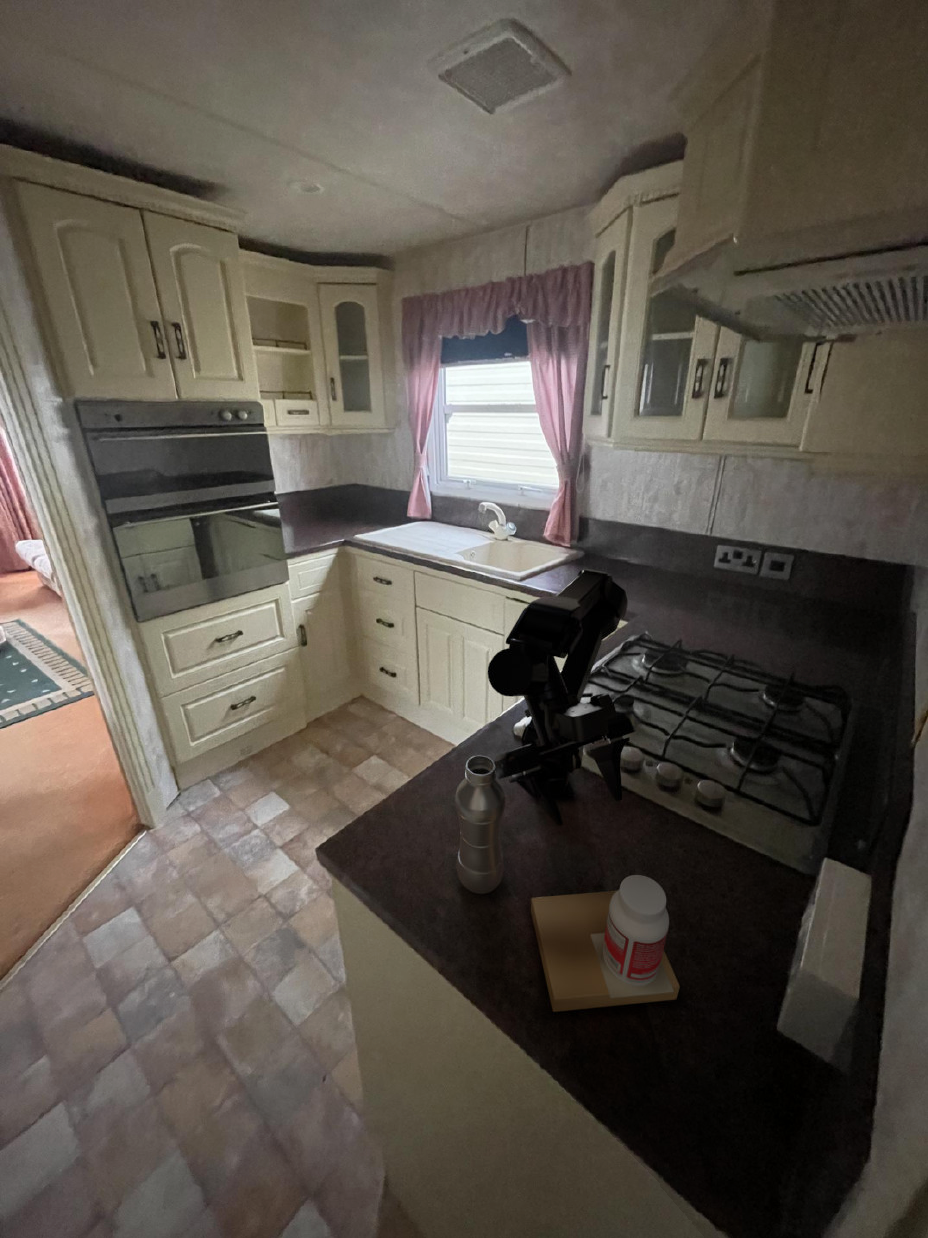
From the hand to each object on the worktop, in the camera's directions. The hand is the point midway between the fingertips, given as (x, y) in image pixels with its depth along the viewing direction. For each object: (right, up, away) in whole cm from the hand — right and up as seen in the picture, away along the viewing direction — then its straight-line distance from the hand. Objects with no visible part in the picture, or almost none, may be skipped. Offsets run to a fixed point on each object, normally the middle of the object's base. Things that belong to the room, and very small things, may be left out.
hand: (590, 812), depth 64 cm
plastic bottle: (-14, -12, +7) cm, 19 cm away
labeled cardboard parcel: (0, -16, -2) cm, 16 cm away
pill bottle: (+3, -15, -6) cm, 16 cm away
